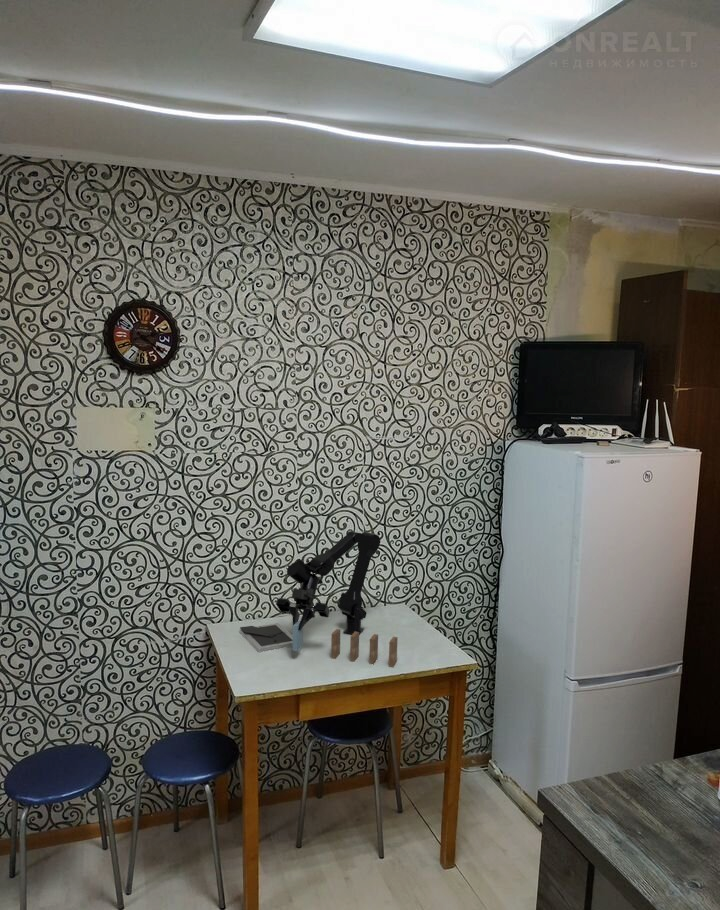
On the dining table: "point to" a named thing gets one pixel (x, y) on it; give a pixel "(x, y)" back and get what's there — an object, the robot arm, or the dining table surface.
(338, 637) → the domino
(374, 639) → the domino
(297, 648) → the domino
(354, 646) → the domino
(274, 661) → the dining table surface
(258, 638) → the picture frame
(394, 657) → the domino
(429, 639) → the dining table surface
